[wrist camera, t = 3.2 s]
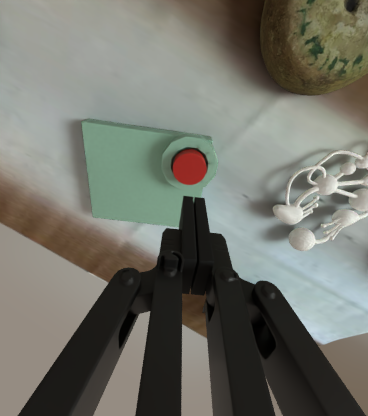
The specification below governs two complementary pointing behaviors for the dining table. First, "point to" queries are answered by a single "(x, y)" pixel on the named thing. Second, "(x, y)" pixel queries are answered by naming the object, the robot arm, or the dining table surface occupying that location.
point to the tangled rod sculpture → (323, 186)
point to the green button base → (140, 171)
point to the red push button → (189, 167)
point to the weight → (315, 43)
